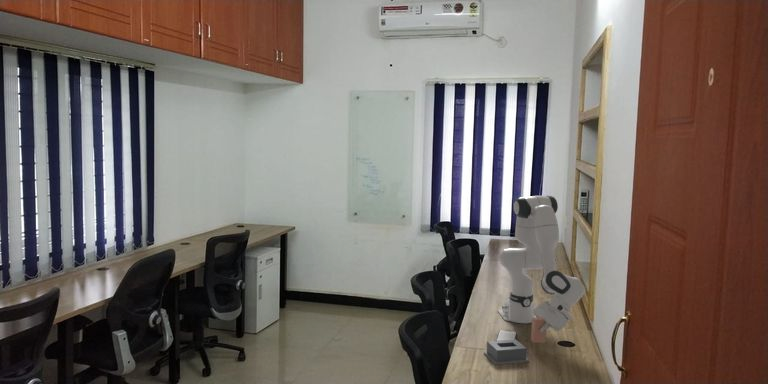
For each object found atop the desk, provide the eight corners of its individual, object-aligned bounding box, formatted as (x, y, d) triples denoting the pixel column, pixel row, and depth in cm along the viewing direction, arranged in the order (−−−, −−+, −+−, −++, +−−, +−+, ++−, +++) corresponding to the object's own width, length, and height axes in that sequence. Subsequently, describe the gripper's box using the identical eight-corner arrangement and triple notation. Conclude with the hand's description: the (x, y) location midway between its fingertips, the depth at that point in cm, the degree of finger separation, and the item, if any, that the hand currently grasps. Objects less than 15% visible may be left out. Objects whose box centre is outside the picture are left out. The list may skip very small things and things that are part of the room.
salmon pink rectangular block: (530, 340, 248) (532, 317, 246) (542, 339, 249) (543, 316, 248) (534, 343, 245) (535, 319, 244) (545, 342, 246) (547, 319, 245)
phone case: (514, 346, 251) (517, 334, 267) (514, 343, 251) (517, 331, 266) (495, 344, 254) (499, 332, 269) (495, 341, 254) (499, 329, 269)
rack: (483, 353, 241) (484, 340, 240) (516, 351, 244) (516, 338, 244) (495, 364, 229) (495, 351, 229) (529, 362, 233) (529, 348, 232)
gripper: (542, 296, 257) (522, 316, 255) (566, 310, 237) (545, 332, 236) (550, 304, 258) (530, 325, 257) (574, 319, 238) (553, 341, 237)
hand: (537, 329), depth 246 cm, fingers closed on salmon pink rectangular block, 3 cm apart
